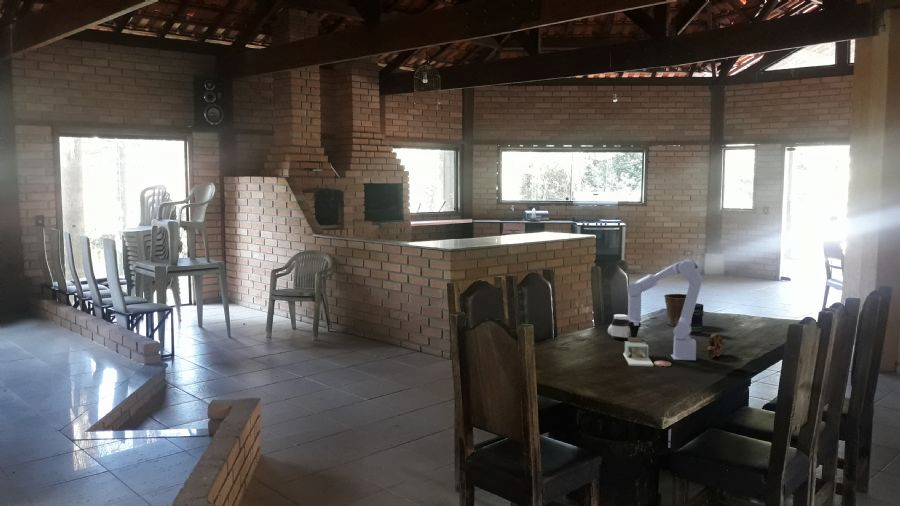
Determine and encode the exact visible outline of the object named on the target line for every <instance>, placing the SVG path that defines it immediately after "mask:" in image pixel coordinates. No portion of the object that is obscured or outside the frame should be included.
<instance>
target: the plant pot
mask: <svg viewBox="0 0 900 506" xmlns="http://www.w3.org/2000/svg"><path fill="white" fill-rule="evenodd" d="M686 295H687V293H684V294H683V293H669V294H664V295H663V297H664V302H665V307H666V321H667V325H668V326H671V327H674V328H675V327H676V326H677V325H678V322H679V319H680V317H681V313H682V310H683V306H684V302H685V299H686Z"/></svg>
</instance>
